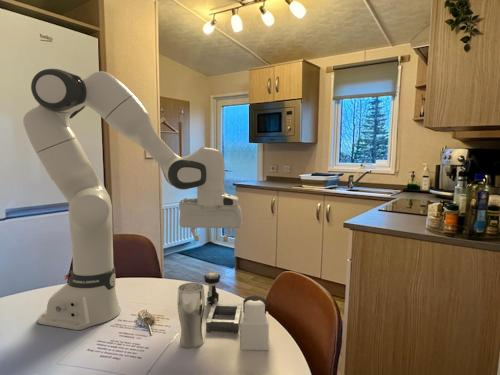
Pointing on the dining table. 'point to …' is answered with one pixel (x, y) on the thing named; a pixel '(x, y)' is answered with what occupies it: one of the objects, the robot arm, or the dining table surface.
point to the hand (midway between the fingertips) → (211, 241)
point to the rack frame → (224, 325)
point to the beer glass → (191, 314)
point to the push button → (212, 287)
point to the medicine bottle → (254, 324)
